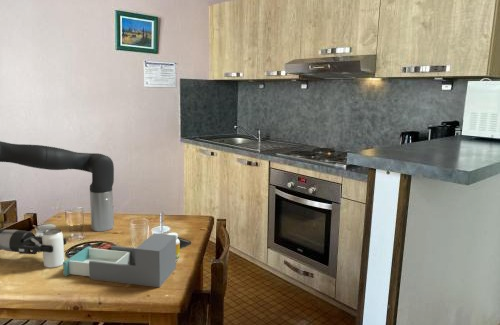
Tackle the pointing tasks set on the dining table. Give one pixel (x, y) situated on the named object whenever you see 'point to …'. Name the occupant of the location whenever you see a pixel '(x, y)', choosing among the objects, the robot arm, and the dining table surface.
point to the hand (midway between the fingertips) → (59, 245)
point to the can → (55, 240)
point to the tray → (81, 260)
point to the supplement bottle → (176, 245)
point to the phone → (183, 242)
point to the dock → (140, 263)
